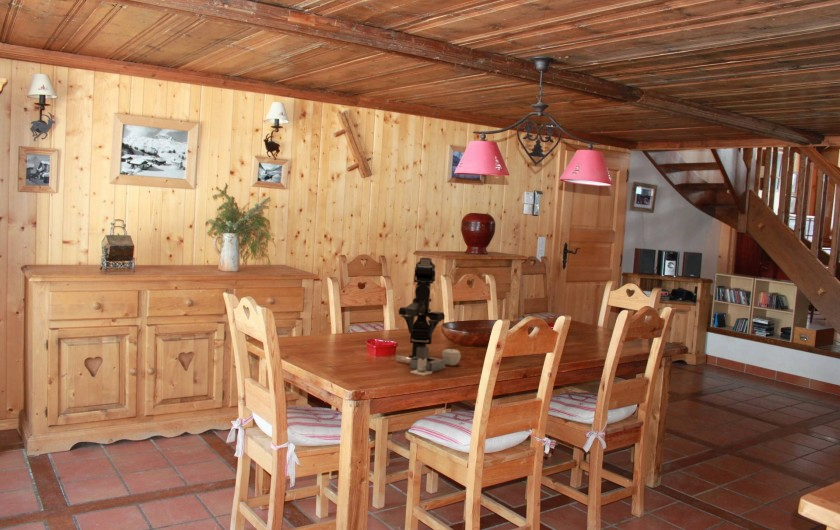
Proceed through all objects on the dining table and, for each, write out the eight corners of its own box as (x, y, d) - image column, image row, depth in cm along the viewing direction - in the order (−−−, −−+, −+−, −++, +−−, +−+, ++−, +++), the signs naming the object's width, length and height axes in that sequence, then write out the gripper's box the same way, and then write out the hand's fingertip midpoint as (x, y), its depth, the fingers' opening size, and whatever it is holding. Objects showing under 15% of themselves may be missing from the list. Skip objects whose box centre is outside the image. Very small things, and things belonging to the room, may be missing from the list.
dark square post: (420, 370, 279) (421, 346, 278) (427, 371, 277) (428, 347, 277) (415, 371, 276) (416, 347, 276) (422, 372, 274) (424, 348, 274)
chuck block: (403, 359, 298) (404, 351, 298) (444, 368, 287) (445, 359, 287) (389, 363, 290) (390, 354, 290) (431, 372, 279) (431, 363, 279)
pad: (419, 370, 281) (419, 368, 281) (432, 373, 278) (432, 371, 278) (410, 372, 276) (410, 371, 276) (423, 375, 273) (423, 374, 272)
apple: (439, 365, 292) (441, 350, 291) (441, 362, 299) (443, 346, 299) (459, 367, 291) (460, 351, 290) (461, 363, 298) (462, 348, 298)
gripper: (391, 294, 283) (389, 333, 284) (431, 300, 273) (428, 340, 274) (407, 292, 293) (405, 330, 294) (446, 298, 282) (443, 337, 284)
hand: (420, 334), depth 286 cm, fingers open, 9 cm apart
